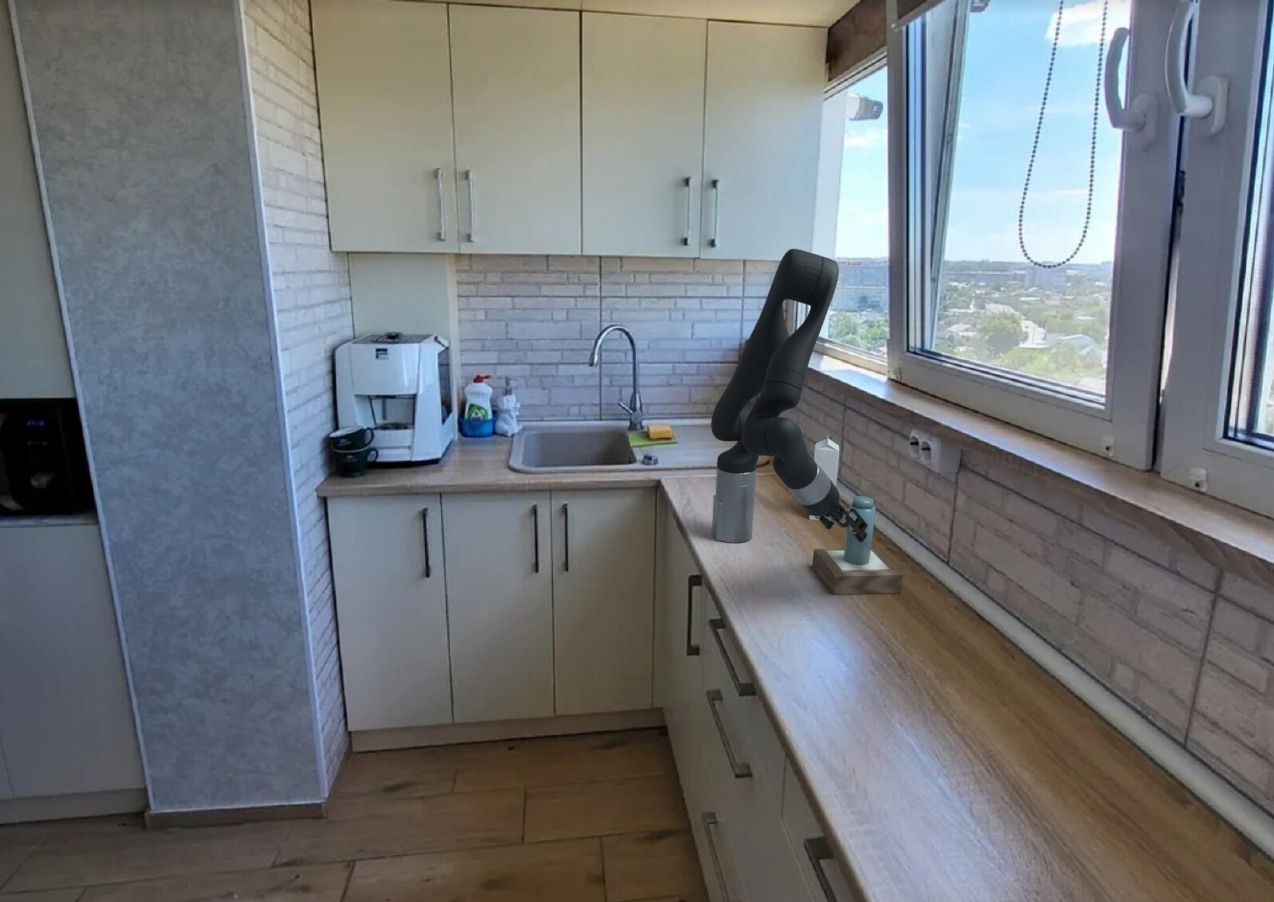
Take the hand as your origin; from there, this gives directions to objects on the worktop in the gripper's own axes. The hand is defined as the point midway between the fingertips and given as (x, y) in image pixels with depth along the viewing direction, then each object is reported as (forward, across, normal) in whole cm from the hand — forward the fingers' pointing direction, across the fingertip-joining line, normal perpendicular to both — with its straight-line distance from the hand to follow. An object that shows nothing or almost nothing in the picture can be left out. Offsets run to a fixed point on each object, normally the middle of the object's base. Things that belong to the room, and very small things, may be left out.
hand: (846, 531), depth 151 cm
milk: (+27, +30, -10) cm, 42 cm away
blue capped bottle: (+8, 0, +2) cm, 8 cm away
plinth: (+11, 0, +5) cm, 12 cm away
